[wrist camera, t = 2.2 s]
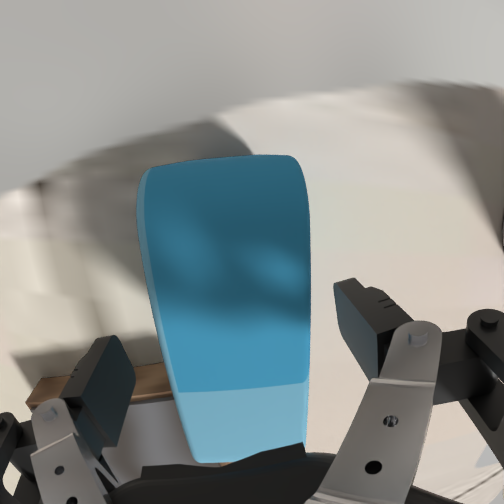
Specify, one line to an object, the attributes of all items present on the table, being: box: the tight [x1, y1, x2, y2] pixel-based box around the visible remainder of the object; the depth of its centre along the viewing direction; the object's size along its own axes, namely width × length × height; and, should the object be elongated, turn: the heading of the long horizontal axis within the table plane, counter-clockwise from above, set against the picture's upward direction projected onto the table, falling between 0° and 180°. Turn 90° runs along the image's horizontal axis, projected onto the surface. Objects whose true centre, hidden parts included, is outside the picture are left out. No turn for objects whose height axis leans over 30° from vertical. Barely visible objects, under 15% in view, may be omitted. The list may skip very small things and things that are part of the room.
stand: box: [25, 362, 233, 484], centre depth 23 cm, size 15×12×4 cm
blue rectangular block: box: [136, 155, 311, 463], centre depth 15 cm, size 12×4×12 cm, turn 4°
